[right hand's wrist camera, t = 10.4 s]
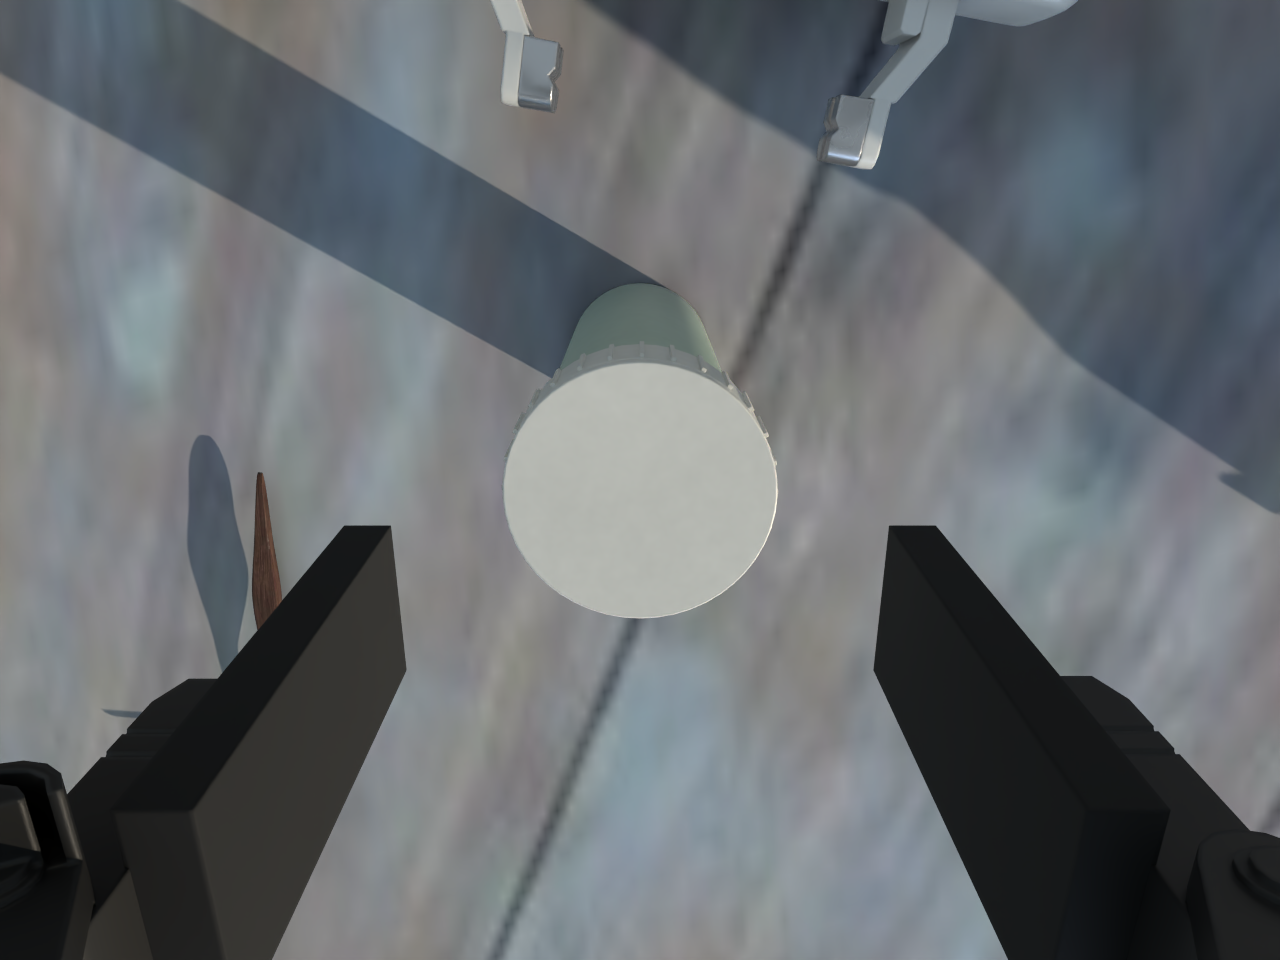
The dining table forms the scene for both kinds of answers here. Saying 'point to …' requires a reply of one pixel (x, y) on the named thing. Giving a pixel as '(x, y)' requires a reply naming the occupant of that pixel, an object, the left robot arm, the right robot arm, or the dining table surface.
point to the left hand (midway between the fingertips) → (687, 137)
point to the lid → (639, 482)
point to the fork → (264, 560)
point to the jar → (640, 323)
